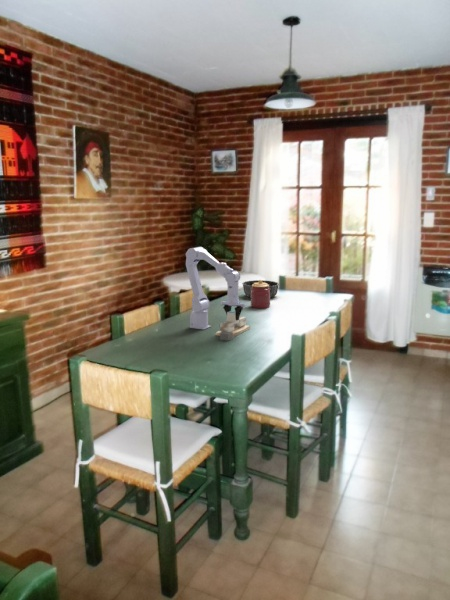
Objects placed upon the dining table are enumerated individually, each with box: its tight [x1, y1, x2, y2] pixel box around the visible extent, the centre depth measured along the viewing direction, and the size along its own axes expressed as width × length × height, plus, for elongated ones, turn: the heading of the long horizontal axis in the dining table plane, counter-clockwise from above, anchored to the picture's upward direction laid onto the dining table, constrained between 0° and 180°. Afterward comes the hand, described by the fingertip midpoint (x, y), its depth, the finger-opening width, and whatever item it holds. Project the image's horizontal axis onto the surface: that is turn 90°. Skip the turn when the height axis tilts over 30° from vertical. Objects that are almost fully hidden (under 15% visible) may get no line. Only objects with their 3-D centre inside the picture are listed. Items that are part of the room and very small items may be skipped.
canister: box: [250, 279, 271, 309], centre depth 320 cm, size 13×13×18 cm
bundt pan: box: [242, 279, 280, 299], centre depth 354 cm, size 26×26×10 cm
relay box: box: [219, 331, 234, 342], centre depth 248 cm, size 5×4×4 cm
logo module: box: [226, 309, 239, 324], centre depth 260 cm, size 4×5×6 cm
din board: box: [215, 315, 251, 338], centre depth 261 cm, size 10×20×6 cm, turn 151°
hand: (233, 319), depth 260 cm, fingers closed on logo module, 4 cm apart
